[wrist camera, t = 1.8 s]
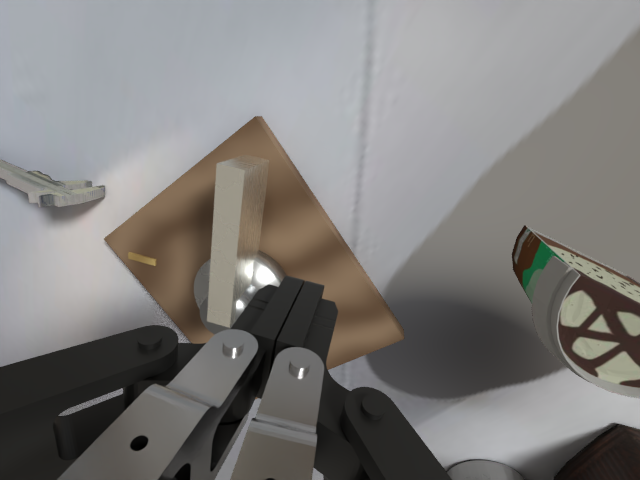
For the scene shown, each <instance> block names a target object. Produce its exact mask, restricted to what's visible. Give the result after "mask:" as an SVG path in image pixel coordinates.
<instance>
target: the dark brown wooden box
mask: <svg viewBox="0 0 640 480" xmlns="http://www.w3.org/2000/svg"><path fill="white" fill-rule="evenodd" d="M554 480H640V429H636V428H632V427H629V426H625V425H621V424H619V425H617V426H616V427H614V428H612V429H610V430H609V431H607V432H605V433H604V434H602V435H600V436H598V437H597V438H596V439H595V440H594V441H592V442H591V443H590V444H589V445H588V446H586V447H585V448H584V449H583V450H582V451H580V452H579V453H578V454H577V455H576V456H574V457H573V458H572V459H571V460H570V461H568V462H567V463H566V464H565V466H564V467H563V468H562V469H561V470H560V472H559V473H558V474H557V475H556V476H555V477H554Z"/></svg>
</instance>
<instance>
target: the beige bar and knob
mask: <svg viewBox="0 0 640 480" xmlns="http://www.w3.org/2000/svg"><path fill="white" fill-rule="evenodd" d="M269 162H270V160H267V159H263V158H258V157H254V156H250V155H244V156H240V157H237V158H233V159H230V160H226V161H223V162H220V163H217V165H216V181H215V197H214V214H213V230H212V246H211V259H209V260H208V261H207V262H206V263H204V264H203V266H202V267H201V268H200V269H199V271H198V272H197V275H196V277H195V281H194V296H195V300H196V303H197V305H198V308H199V309H200V317H201V320H202V322H203V324H204V325H205V327H206V328H207V329H208V330H209V331H210V332H211V333H213V334H214V335H215V334H217V333H219V332H221V331H224V330H229V329H231V327H232V326H233V324H234V323H235V322H236V320H237V319H238V317H239V316H240V315H241V313H242V312H243V311H244V309H245V308H246V306H248V304H249V302H250V301H251V299H253V297H254V295H255V294H256V292H257V291H258V290H259V289H261V288H263V287H265V286H266V285H268V284H270V285H274V286H277V287H279V285H280V283H281V282H282V280H283V279H284V277H285V276H286V273H285V272H284V270H283V269H282V267H281V266H280V265H279V264H278V263H277V262H276V261H275V260H274V259H273V258H272V257H270V256H269V255H267V254H266V253H264V252H262V251H260V250H259V242H260V234H261V226H262V218H263V210H264V202H265V194H266V186H267V178H268V170H269Z"/></svg>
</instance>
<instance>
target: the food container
mask: <svg viewBox="0 0 640 480" xmlns="http://www.w3.org/2000/svg"><path fill="white" fill-rule="evenodd" d="M512 260H513V270H514V272H515V274H516V276H517V278H518V280H519V282H520V284H521V286H522V287H523V289H524V291H525V293H526V294H527V296H528V298H529V299H530V301H531V303H532V316H533V322H534V325H535V329H536V332H537V334H538V336H539V338H540V339H541V341H542V343H543V344H544V345H545V347H546V348H547V349H548V350H549V351H550V353H551V354H552V355H554V356H555V357H556V358H557V359H558V360H559V361H561V362H562V363H563V364H564V365H565V366H566V367H568V368H569V369H570V370H571V371H572V372H574V373H575V374H576V375H578V376H580V377H581V378H583V379H585V380H586V381H588V382H590V383H593V384H594V385H596V386H598V387H600V388H603V389H605V390H607V391H610V392H612V393H616V394H620V395H624V396H627V397H634V398H640V283H639V282H637V281H636V280H634V279H633V278H631V277H630V276H628V275H626V274H624V273H622V272H620V271H618V270H616V269H614V268H611V267H610V266H608V265H606V264H604V263H601V262H600V261H597V260H595V259H593V258H591V257H589V256H587V255H585V254H583V253H581V252H579V251H577V250H575V249H573V248H571V247H569V246H567V245H565V244H563V243H560V242H558V241H556V240H554V239H552V238H550V237H548V236H546V235H544V234H542V233H540V232H538V231H536V230H534V229H532V228H529V227H527V226H524V227H523V229H522V230H521V232H520V233H519V235H518V237H517V239H516V242H515V245H514V249H513V252H512Z"/></svg>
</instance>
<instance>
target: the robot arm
mask: <svg viewBox="0 0 640 480" xmlns="http://www.w3.org/2000/svg"><path fill="white" fill-rule="evenodd" d="M324 286H325V285H322V284H318V283H314V282H310V281H305V280H302V279H299V278H295V277H291V276H287V275H286V276H285V277H284V279H283V280H282V282H281V283H280V285H279V287H277V286H274V285H270V284H268V285H266V286H265V287H263V288H261V289H259V290H258V291H257V292H256V294H255V295H254V297H253V299H251V301H250V302H249V304H248V306H246V308H245V309H244V311H243V312H242V313H241V315H240V316H239V317H238V319H237V320H236V322H235V323H234V324H233V326H232V327H231V329H229V330H224V331H221V332H219V333H217V334H215V335H214V336H213V337H212V338H211V339H210V340H209V341H208V342H207V343H202V344H194V343H178V336H177V334H176V333H175V331H173V330H172V329H170V328H168V327H165V326H159V325H152V326H145V327H141V328H138V329H134V330H131V331H127V332H123V333H120V334H116V335H113V336H109V337H106V338H102V339H99V340H95V341H91V342H88V343H84V344H81V345H77V346H74V347H70V348H67V349H63V350H59V351H56V352H52V353H49V354H45V355H42V356H38V357H35V358H31V359H27V360H24V361H20V362H17V363H13V364H10V365H6V366H3V367H0V480H215V478H216V476H217V474H218V472H219V470H220V469H221V467H222V465H223V463H224V461H225V460H226V458H227V456H228V454H229V452H230V450H231V449H232V447H233V445H234V443H235V441H236V439H237V438H238V436H239V434H240V432H241V430H242V429H243V427H244V425H245V423H246V421H247V419H248V414H249V411H250V409H251V407H252V405H253V402H254V400H255V398H256V397H257V398H260V399H261V402H260V405H259V408H258V411H257V414H256V417H255V418H252V420H251V422H250V425H249V427H248V430H247V433H246V436H245V438H244V441H243V444H242V447H241V450H240V453H239V456H238V459H237V461H236V464H235V467H234V470H233V473H232V476H231V479H230V480H312V474H313V467H314V468H315V469H316V470H318V471H319V472H320V473H322V474H323V475H324V480H524V478H523V477H522V476H521V475H520V474H519V473H518V472H517V471H515V470H514V469H512V468H510V467H508V466H506V465H504V464H501V463H497V462H493V461H485V460H474V461H468V462H464V463H461V464H458V465H456V466H454V467H452V468H451V469H450V470H449V471H448V472H446V471H445V470H444V468H443V467H442V466H441V464H440V463H439V462H438V460H437V459H436V458H435V456H434V455H433V454H432V452H431V451H430V450H429V449H428V447H427V446H426V445H425V443H424V442H423V441H422V439H421V438H420V437H419V435H418V434H417V433H416V431H415V430H414V429H413V427H412V426H411V425H410V424H409V422H408V421H407V420H406V418H405V417H404V416H403V414H402V413H401V412H400V410H399V409H398V408H397V406H396V405H395V404H394V402H393V401H392V400H391V399H390V398H389V397H388V396H387V395H385V394H384V393H382V392H381V391H379V390H376V389H374V388H370V387H359V388H356V389H353V390H352V391H349V390H347V389H345V388H344V387H342V386H341V385H339V384H338V383H337V382H336V381H335V380H334V379H333V378H332V377H331V376H330V374H329V372H328V370H327V366H326V361H327V356H328V352H329V348H330V344H331V340H332V335H333V331H334V327H335V323H336V319H337V315H338V309H337V307H336V304H335V302H333V301H330V300H326V299H322V296H323V291H324ZM121 388H123V394H121V395H118V396H116V397H113V398H111V399H108V400H106V401H103V402H101V403H98V404H95V405H93V406H90V407H88V408H85V409H83V410H80V411H77V412H75V413H72V414H70V415H66V416H58V415H59V414H60V413H62V412H63V411H65V410H66V409H68V408H71V407H73V406H76V405H79V404H81V403H84V402H86V401H89V400H92V399H94V398H97V397H100V396H102V395H105V394H108V393H110V392H113V391H116V390H118V389H121Z"/></svg>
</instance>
